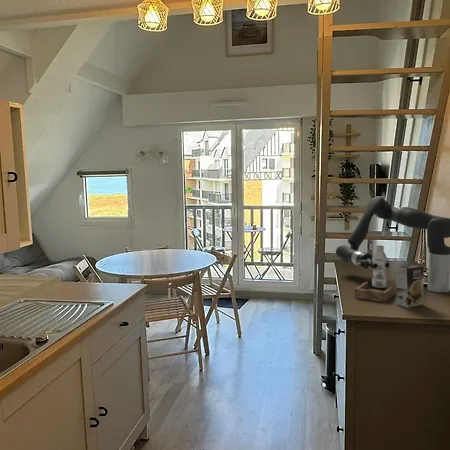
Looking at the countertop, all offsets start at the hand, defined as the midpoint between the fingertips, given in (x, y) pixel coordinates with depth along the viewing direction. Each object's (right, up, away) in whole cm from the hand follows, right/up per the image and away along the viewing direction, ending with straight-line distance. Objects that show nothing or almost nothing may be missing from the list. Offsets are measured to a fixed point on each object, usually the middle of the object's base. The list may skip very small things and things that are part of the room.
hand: (382, 265), depth 201 cm
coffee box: (+3, -14, -23) cm, 27 cm away
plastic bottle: (0, -11, +4) cm, 11 cm away
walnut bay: (-7, -12, -10) cm, 17 cm away
